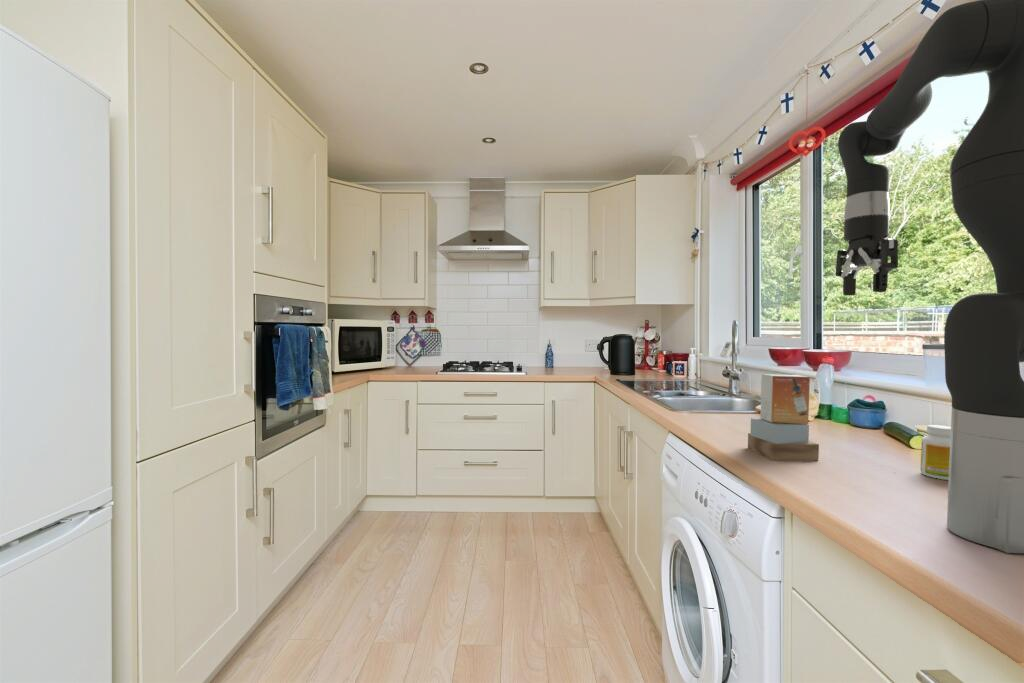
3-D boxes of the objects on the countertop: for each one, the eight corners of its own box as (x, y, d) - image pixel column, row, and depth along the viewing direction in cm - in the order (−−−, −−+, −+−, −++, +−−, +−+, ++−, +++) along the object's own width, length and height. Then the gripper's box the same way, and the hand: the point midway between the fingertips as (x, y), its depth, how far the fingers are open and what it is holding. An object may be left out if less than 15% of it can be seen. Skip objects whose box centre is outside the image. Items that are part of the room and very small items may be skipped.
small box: (770, 423, 99) (771, 375, 99) (759, 418, 105) (760, 373, 105) (809, 424, 98) (810, 376, 98) (796, 419, 104) (797, 374, 104)
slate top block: (808, 442, 99) (809, 424, 99) (776, 443, 97) (776, 425, 97) (780, 434, 107) (781, 417, 106) (750, 435, 105) (750, 418, 105)
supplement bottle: (966, 482, 85) (968, 430, 84) (932, 479, 86) (934, 429, 85) (944, 473, 90) (946, 424, 90) (913, 471, 91) (915, 423, 91)
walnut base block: (818, 462, 98) (818, 444, 97) (772, 462, 97) (773, 443, 97) (789, 450, 108) (789, 433, 107) (747, 449, 107) (748, 433, 107)
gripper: (913, 208, 88) (910, 291, 89) (859, 225, 103) (856, 296, 103) (874, 208, 89) (871, 290, 89) (825, 224, 103) (823, 296, 103)
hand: (863, 293), depth 96 cm, fingers open, 8 cm apart
